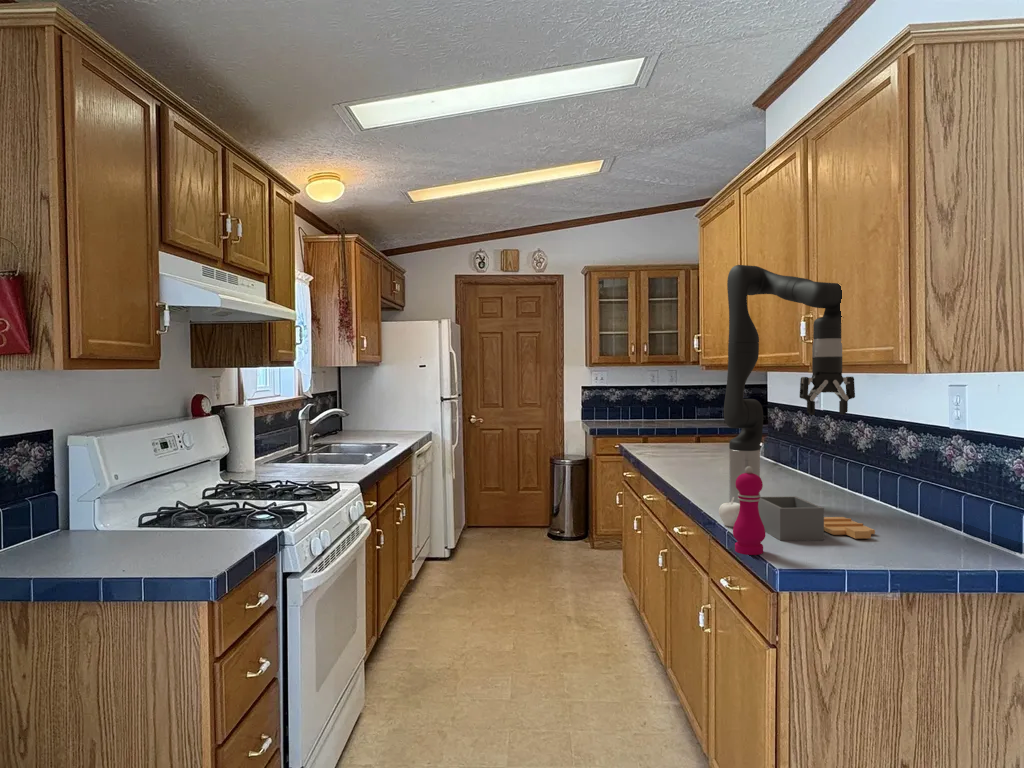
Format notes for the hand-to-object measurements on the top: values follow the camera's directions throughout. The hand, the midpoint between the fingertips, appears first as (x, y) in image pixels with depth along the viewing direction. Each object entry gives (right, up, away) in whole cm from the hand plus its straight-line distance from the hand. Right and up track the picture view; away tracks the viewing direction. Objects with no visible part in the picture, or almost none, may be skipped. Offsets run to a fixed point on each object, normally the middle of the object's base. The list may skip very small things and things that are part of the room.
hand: (827, 414), depth 188 cm
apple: (-26, -31, -1) cm, 40 cm away
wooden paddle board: (0, -31, -8) cm, 32 cm away
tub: (-15, -30, -10) cm, 35 cm away
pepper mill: (-31, -31, -28) cm, 52 cm away
